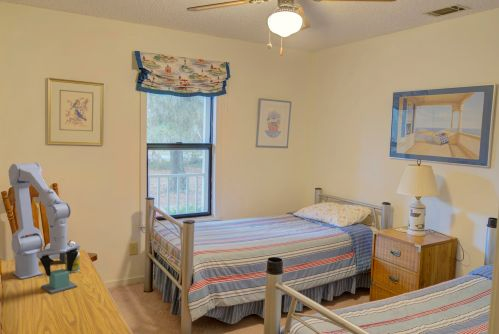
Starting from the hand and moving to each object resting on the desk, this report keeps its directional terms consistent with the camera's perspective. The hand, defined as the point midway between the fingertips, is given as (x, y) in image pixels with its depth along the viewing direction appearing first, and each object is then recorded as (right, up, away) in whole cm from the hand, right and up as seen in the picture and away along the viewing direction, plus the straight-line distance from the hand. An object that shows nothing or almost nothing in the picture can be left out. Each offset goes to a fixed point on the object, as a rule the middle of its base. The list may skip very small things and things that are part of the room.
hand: (59, 272), depth 144 cm
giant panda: (-13, -3, +27) cm, 30 cm away
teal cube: (0, -5, 0) cm, 5 cm away
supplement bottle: (-3, -4, +17) cm, 18 cm away
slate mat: (0, -5, 0) cm, 5 cm away
